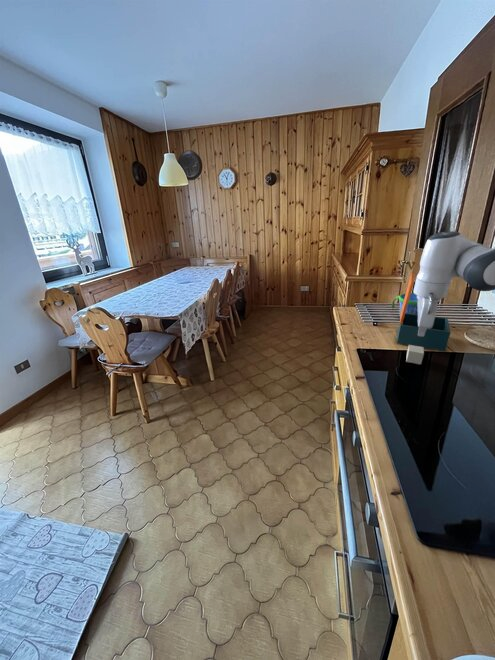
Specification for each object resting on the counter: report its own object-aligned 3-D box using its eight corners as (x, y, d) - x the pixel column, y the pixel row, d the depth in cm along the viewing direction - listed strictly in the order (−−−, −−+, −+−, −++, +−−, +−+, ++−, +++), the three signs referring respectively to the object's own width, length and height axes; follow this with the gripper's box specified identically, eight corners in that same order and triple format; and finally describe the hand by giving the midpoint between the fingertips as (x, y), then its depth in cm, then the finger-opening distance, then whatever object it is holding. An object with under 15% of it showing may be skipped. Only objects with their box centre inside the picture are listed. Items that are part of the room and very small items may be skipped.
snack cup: (385, 317, 128) (389, 296, 123) (396, 310, 133) (400, 290, 129) (422, 328, 117) (428, 305, 112) (432, 320, 122) (438, 298, 118)
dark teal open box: (442, 335, 110) (447, 318, 107) (445, 351, 100) (450, 332, 97) (398, 329, 117) (401, 312, 113) (396, 343, 107) (400, 325, 104)
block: (420, 357, 98) (423, 347, 96) (421, 364, 94) (424, 353, 92) (406, 355, 100) (408, 344, 98) (406, 361, 96) (408, 350, 94)
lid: (414, 272, 105) (411, 271, 105) (414, 282, 95) (411, 281, 96) (403, 311, 113) (400, 311, 113) (402, 324, 103) (399, 324, 104)
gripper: (446, 301, 76) (433, 345, 82) (440, 279, 92) (430, 318, 98) (419, 298, 79) (408, 341, 85) (418, 278, 94) (409, 315, 101)
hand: (420, 328), depth 92 cm, fingers open, 8 cm apart
